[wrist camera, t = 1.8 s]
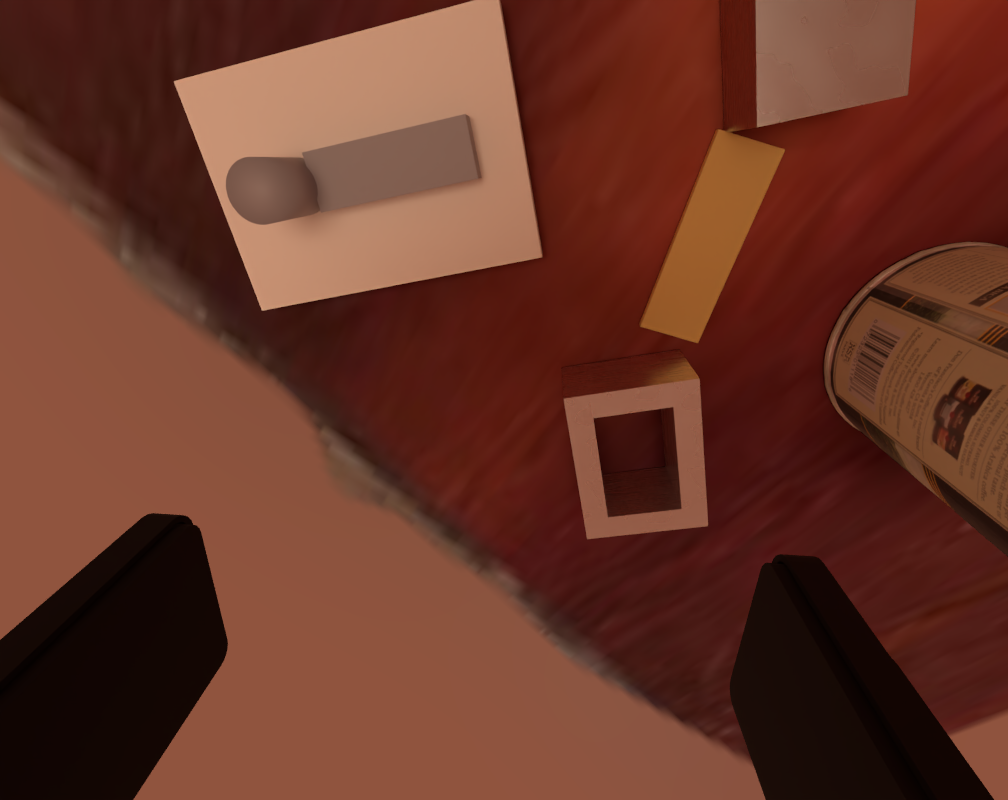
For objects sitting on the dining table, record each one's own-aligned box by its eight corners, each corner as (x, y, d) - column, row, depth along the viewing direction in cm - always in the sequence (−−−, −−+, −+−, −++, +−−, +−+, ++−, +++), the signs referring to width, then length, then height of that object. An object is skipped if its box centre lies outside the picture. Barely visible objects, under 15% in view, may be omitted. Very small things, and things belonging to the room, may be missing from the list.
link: (679, 349, 27) (699, 378, 23) (688, 481, 30) (708, 525, 26) (561, 367, 28) (563, 398, 24) (582, 494, 31) (587, 539, 27)
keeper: (501, 4, 22) (487, -43, 17) (542, 252, 26) (540, 274, 21) (195, 85, 24) (100, 65, 19) (276, 303, 28) (215, 334, 23)
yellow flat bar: (715, 129, 23) (718, 128, 22) (781, 149, 23) (785, 149, 23) (638, 324, 27) (640, 326, 26) (695, 340, 27) (697, 343, 26)
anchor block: (856, -41, 20) (923, -86, 17) (848, 106, 22) (907, 95, 18) (719, -7, 21) (755, -42, 17) (724, 132, 23) (756, 127, 19)
